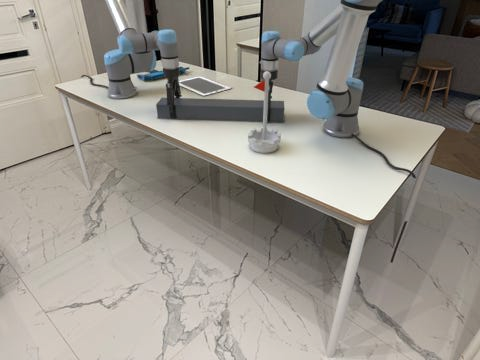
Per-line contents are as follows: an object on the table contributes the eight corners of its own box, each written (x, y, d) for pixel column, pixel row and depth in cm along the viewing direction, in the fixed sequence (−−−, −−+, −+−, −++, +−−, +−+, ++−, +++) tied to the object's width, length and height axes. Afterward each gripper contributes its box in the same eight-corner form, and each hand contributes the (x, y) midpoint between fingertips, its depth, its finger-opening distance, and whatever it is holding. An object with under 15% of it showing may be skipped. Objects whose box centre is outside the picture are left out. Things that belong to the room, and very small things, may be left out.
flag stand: (271, 137, 144) (275, 65, 128) (285, 150, 134) (292, 74, 118) (243, 142, 140) (243, 68, 124) (255, 156, 130) (257, 78, 114)
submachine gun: (174, 61, 240) (194, 66, 223) (175, 66, 242) (194, 72, 225) (128, 70, 221) (146, 76, 205) (130, 76, 223) (147, 82, 207)
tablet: (173, 83, 208) (173, 82, 207) (200, 76, 219) (200, 76, 218) (203, 96, 187) (203, 95, 187) (231, 88, 198) (231, 87, 198)
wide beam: (283, 114, 166) (283, 100, 162) (283, 122, 158) (284, 108, 154) (163, 110, 170) (161, 97, 166) (158, 118, 162) (156, 104, 158)
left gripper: (169, 61, 162) (174, 105, 175) (155, 74, 144) (162, 123, 156) (184, 61, 162) (188, 106, 174) (172, 74, 143) (178, 123, 155)
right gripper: (261, 62, 159) (260, 107, 172) (259, 76, 140) (258, 125, 152) (277, 62, 159) (274, 107, 171) (278, 77, 140) (275, 126, 152)
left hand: (176, 114), depth 165 cm, fingers closed on wide beam, 10 cm apart
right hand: (267, 116), depth 162 cm, fingers open, 10 cm apart
